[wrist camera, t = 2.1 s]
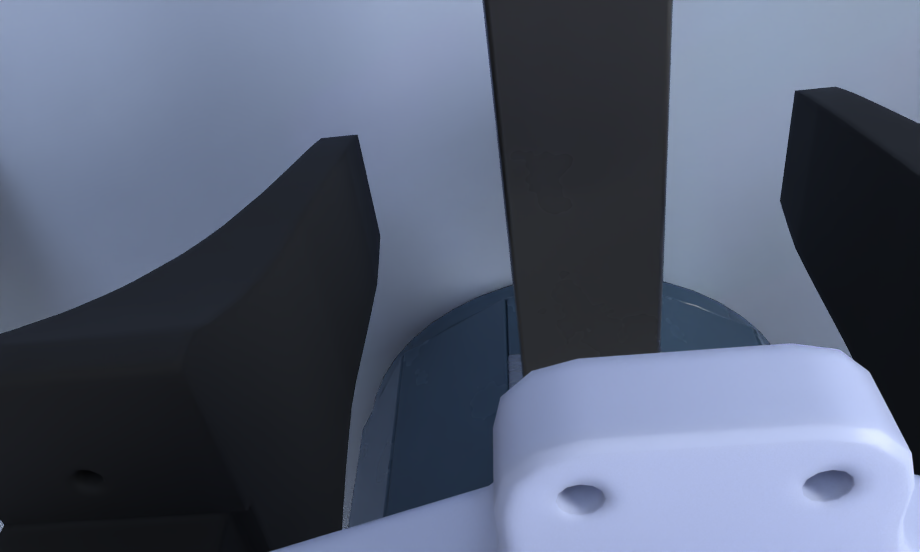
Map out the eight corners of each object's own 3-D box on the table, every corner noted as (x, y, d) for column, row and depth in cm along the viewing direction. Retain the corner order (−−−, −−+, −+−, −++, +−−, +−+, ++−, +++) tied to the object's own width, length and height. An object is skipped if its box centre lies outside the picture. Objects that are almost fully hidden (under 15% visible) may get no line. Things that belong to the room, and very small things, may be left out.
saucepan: (768, 546, 25) (840, 775, 20) (407, 564, 26) (389, 786, 21) (907, -220, 13) (1185, -122, 8) (212, -128, 14) (56, 11, 9)
